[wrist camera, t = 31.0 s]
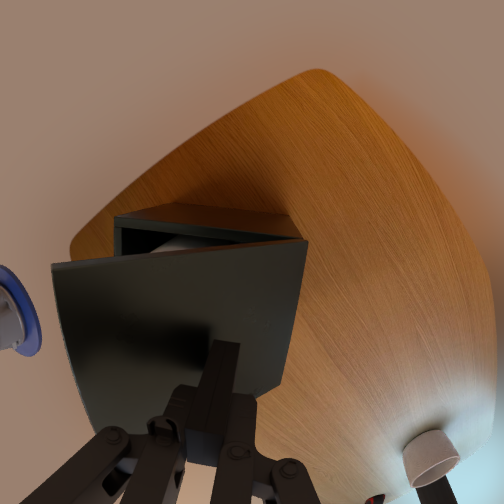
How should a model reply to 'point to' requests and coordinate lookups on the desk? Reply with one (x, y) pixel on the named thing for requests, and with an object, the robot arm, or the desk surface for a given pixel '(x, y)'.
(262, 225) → the trash bin
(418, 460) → the planter
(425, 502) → the vase
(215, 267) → the bin lid
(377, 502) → the computer mouse
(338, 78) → the desk surface
